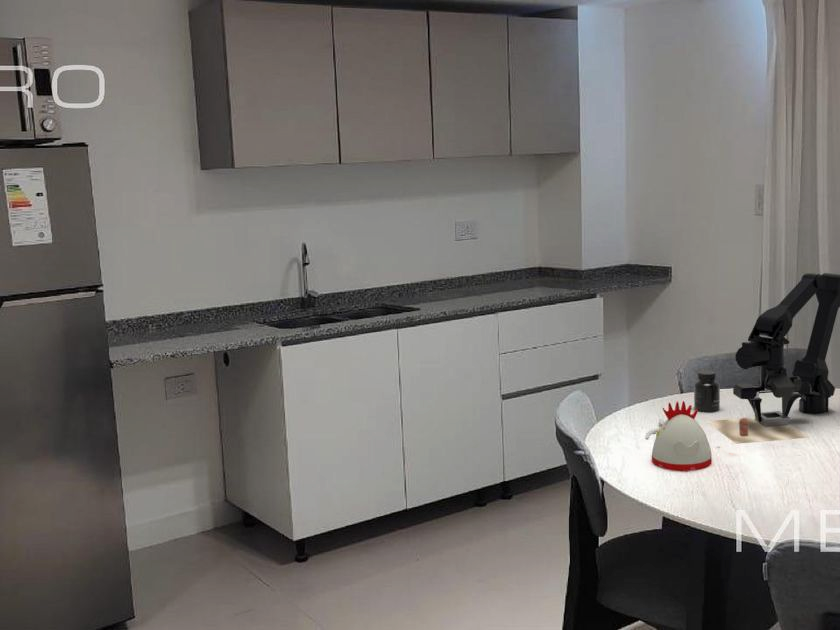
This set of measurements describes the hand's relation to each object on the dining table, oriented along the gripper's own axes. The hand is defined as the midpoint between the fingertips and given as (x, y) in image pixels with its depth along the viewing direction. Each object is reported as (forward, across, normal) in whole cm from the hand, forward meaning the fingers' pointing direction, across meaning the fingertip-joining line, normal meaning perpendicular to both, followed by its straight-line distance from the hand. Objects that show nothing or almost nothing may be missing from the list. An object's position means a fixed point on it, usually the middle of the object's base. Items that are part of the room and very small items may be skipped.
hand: (771, 420), depth 250 cm
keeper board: (+2, -6, -4) cm, 7 cm away
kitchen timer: (+2, -31, -19) cm, 36 cm away
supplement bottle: (+2, -11, +17) cm, 20 cm away
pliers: (+3, -27, +5) cm, 28 cm away
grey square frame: (0, 0, 0) cm, 0 cm away
